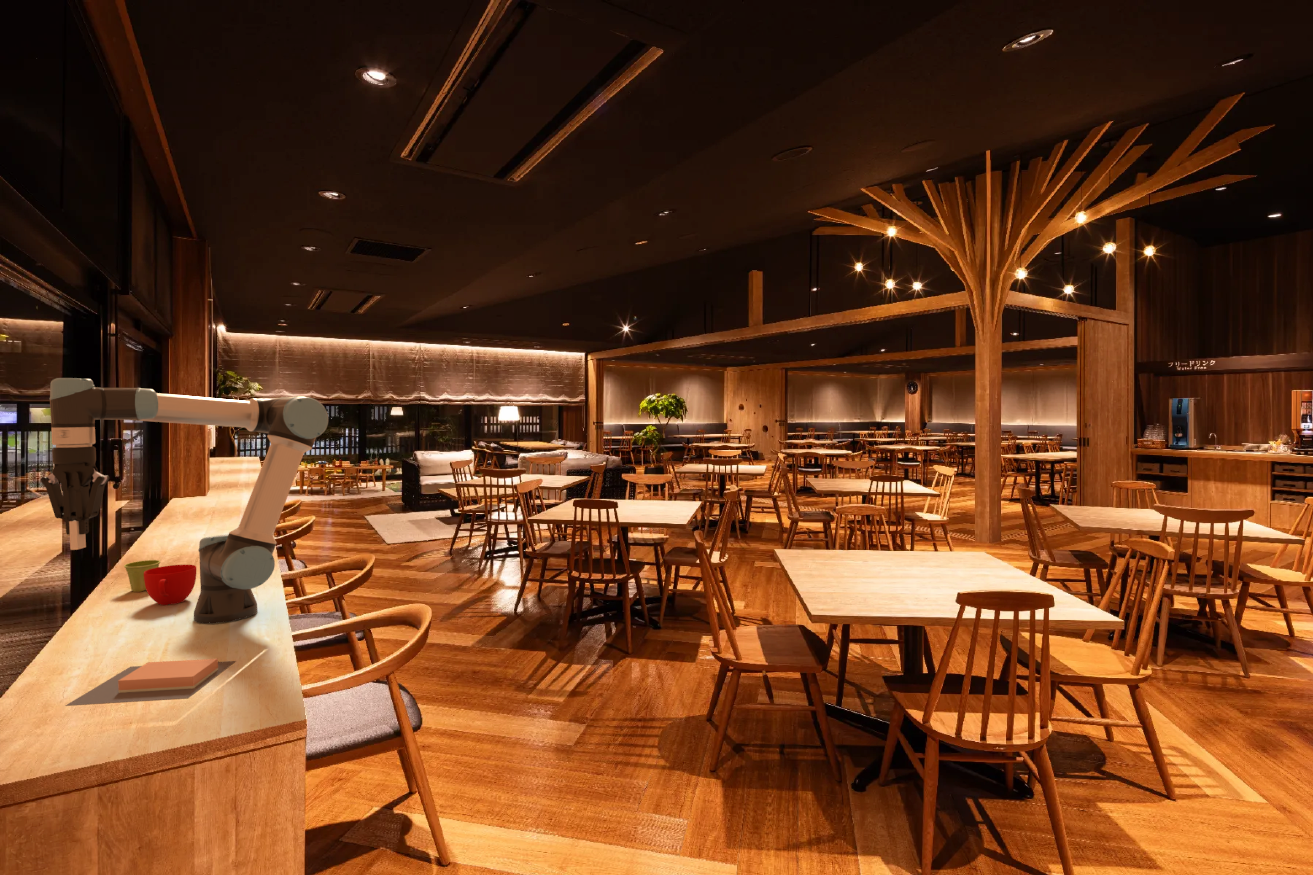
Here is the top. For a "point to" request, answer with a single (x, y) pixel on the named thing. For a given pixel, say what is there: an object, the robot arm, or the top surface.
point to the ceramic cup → (170, 583)
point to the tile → (168, 675)
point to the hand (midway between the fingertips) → (78, 548)
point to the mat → (110, 691)
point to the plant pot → (139, 573)
